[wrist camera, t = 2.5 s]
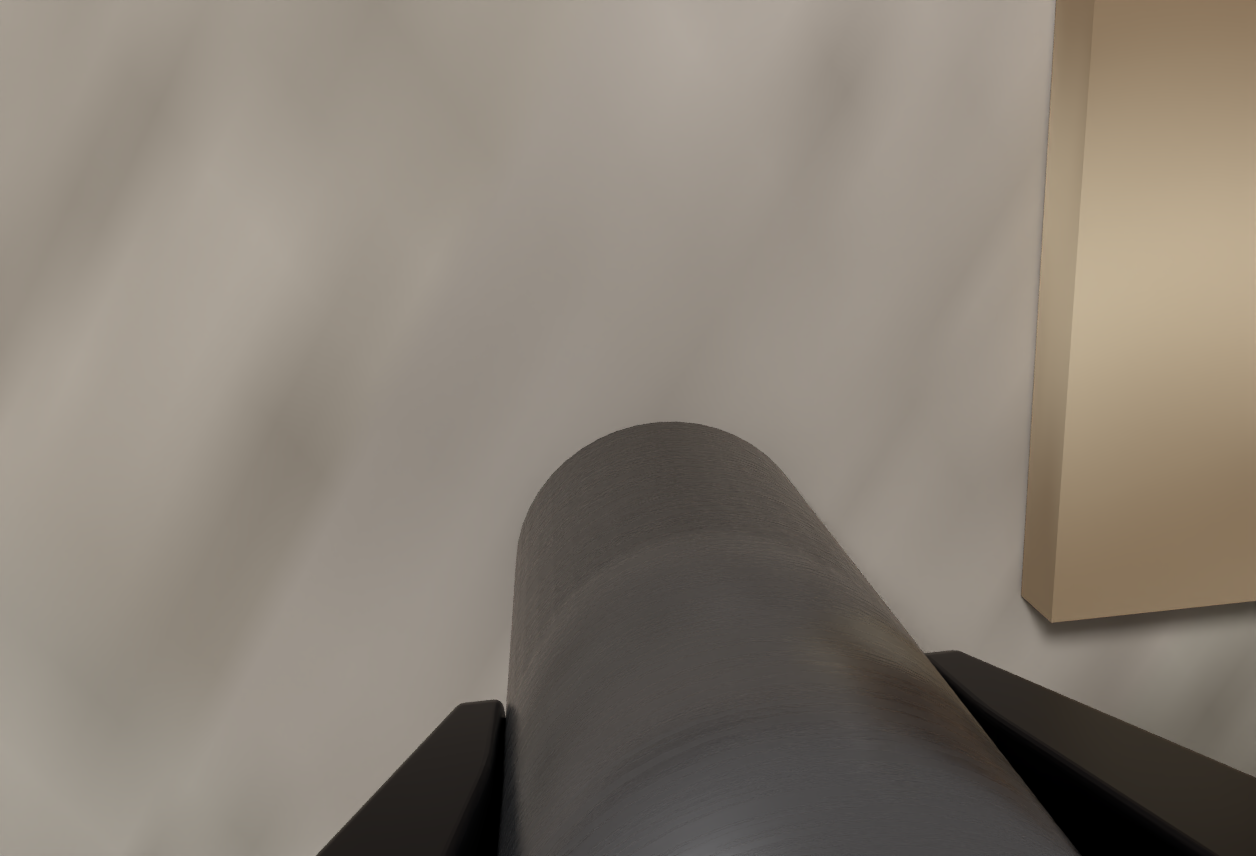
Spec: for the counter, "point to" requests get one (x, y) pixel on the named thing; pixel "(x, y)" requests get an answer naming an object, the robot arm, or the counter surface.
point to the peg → (727, 678)
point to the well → (1146, 314)
